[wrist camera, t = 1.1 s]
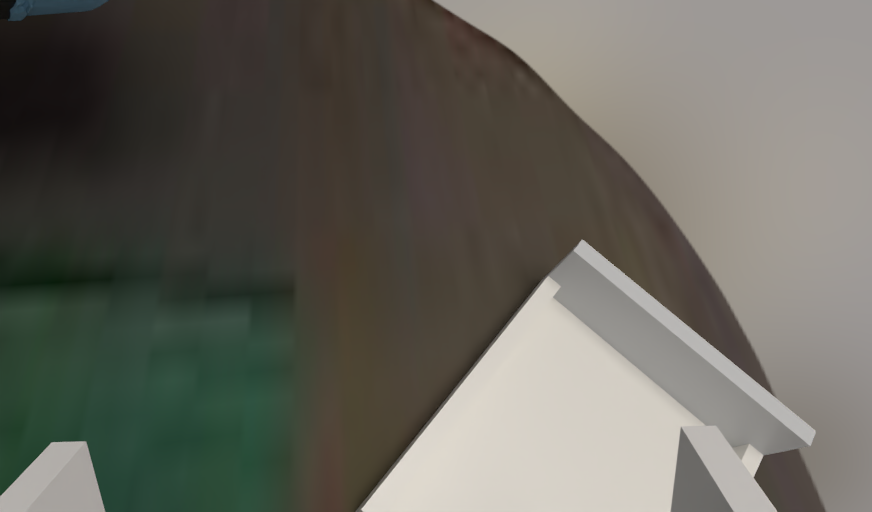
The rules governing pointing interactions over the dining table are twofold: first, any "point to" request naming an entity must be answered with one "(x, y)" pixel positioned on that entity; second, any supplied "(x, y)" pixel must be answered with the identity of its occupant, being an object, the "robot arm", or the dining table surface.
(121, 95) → the dining table surface
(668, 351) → the tray
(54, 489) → the robot arm
